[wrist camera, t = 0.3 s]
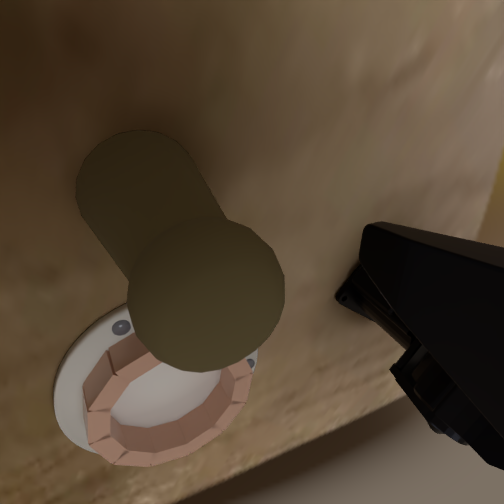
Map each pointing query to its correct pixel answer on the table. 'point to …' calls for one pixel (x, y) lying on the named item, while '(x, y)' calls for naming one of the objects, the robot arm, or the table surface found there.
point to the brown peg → (179, 254)
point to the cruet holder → (141, 397)
